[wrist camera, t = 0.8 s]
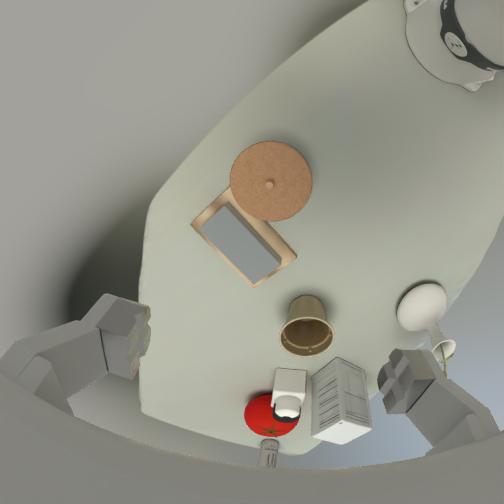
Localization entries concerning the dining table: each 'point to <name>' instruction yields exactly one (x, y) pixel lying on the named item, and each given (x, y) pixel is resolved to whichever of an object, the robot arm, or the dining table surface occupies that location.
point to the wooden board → (257, 224)
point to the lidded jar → (271, 181)
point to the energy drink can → (268, 453)
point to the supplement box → (340, 403)
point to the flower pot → (306, 328)
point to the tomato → (265, 418)
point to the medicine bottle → (288, 394)
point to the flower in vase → (427, 317)
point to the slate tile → (241, 243)
